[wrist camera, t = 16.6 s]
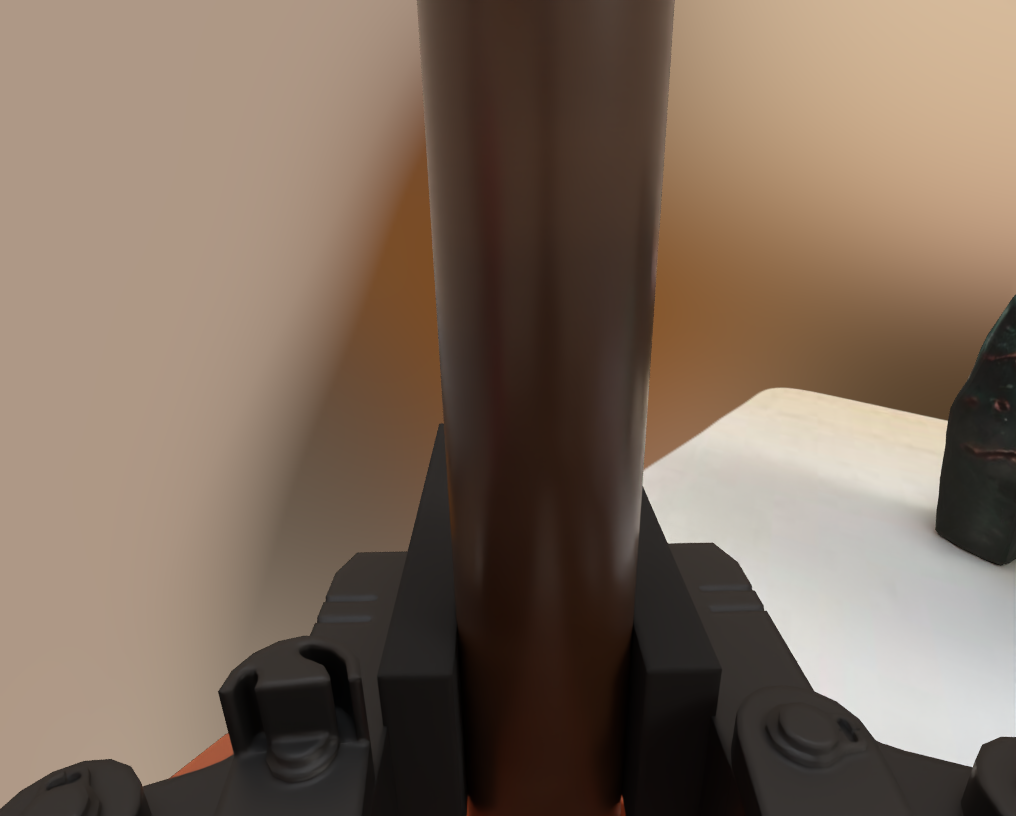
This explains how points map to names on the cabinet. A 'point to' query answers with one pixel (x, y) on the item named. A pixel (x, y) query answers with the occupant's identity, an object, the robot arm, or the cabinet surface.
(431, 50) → the dowel on disc base
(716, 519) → the cabinet surface
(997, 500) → the ceramic cat
